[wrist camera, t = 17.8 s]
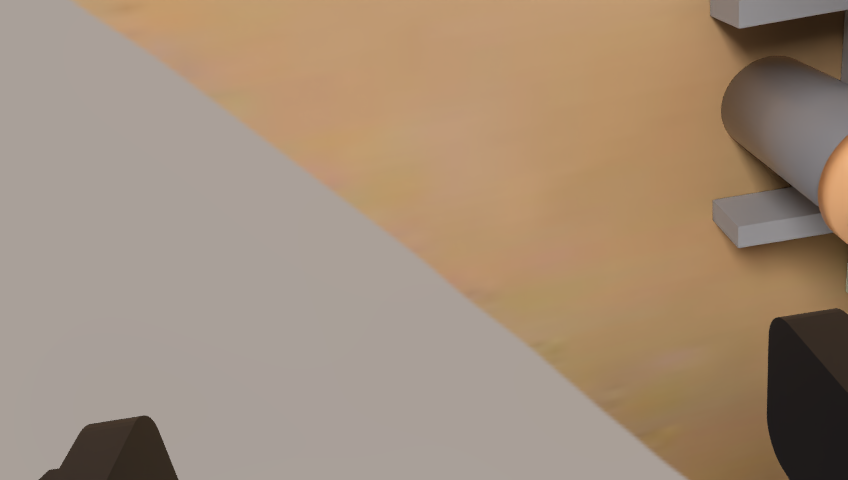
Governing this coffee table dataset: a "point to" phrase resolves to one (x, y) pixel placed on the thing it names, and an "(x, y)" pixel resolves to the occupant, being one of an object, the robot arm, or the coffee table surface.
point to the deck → (782, 208)
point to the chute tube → (795, 129)
